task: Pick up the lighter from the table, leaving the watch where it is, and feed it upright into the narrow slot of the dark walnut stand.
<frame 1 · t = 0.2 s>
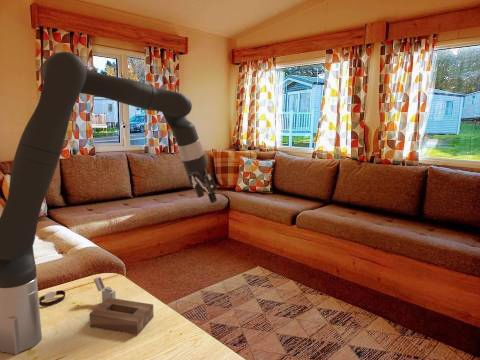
hand: (207, 199, 119), 31 cm above the table, tool tilted 20°, fingers open, 8 cm apart
watch: (52, 302, 111), on the table
slot stand: (122, 321, 101), on the table
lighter: (105, 303, 111), on the table
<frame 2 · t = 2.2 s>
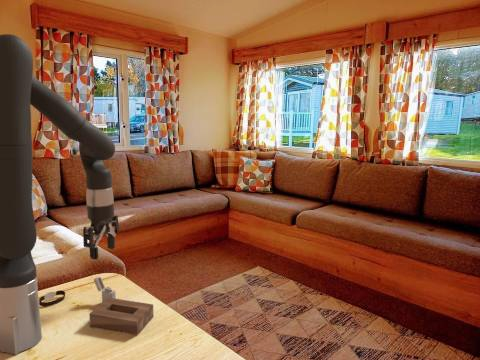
hand: (103, 253, 108), 16 cm above the table, tool pointing down, fingers open, 8 cm apart
nothing on the table moved.
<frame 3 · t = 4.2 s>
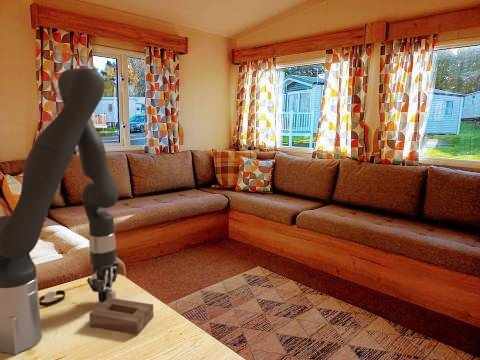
hand: (105, 299, 111), 1 cm above the table, tool pointing down, fingers closed on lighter, 2 cm apart
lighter: (105, 303, 111), on the table, touching gripper
everything else where it was.
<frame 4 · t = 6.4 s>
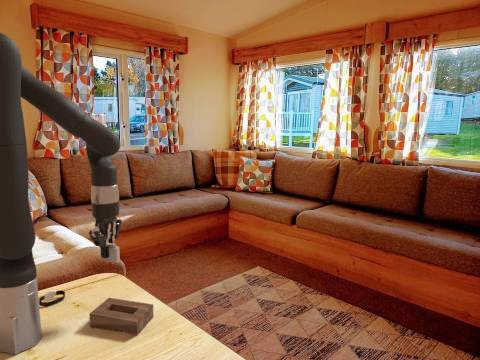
hand: (107, 256, 105), 17 cm above the table, tool pointing down, fingers closed on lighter
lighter: (107, 260, 105), point 15 cm above the table, touching gripper
everything else where it was.
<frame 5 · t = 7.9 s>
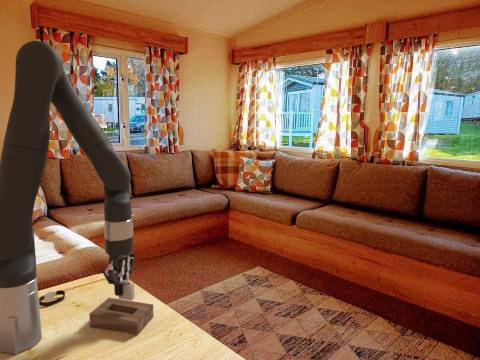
hand: (121, 293, 100), 9 cm above the table, tool pointing down, fingers closed on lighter
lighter: (122, 297, 100), point 7 cm above the table, touching gripper
everything else where it was.
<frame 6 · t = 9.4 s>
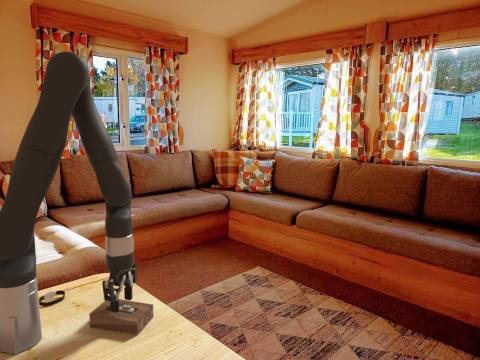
hand: (122, 305, 100), 5 cm above the table, tool pointing down, fingers open, 6 cm apart
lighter: (122, 322, 101), resting in slot stand
everything else where it was.
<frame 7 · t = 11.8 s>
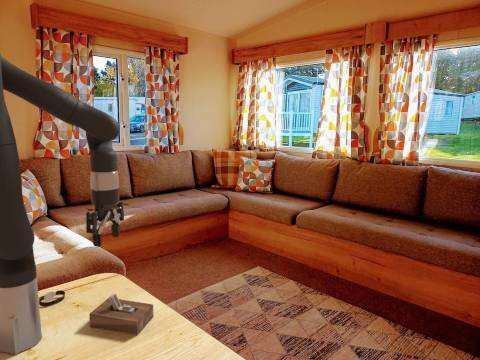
hand: (107, 241, 103), 22 cm above the table, tool pointing down, fingers open, 8 cm apart
nothing on the table moved.
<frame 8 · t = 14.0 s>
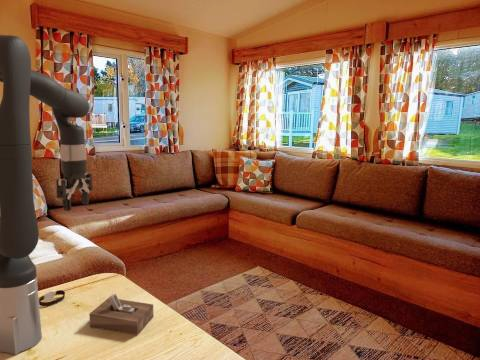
hand: (76, 207, 116), 28 cm above the table, tool pointing down, fingers open, 8 cm apart
nothing on the table moved.
at the end: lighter 0.1 cm off-centre on the slot stand, point 0.0 cm above the slot stand's base; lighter tilted 0°; the gripper is holding nothing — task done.
